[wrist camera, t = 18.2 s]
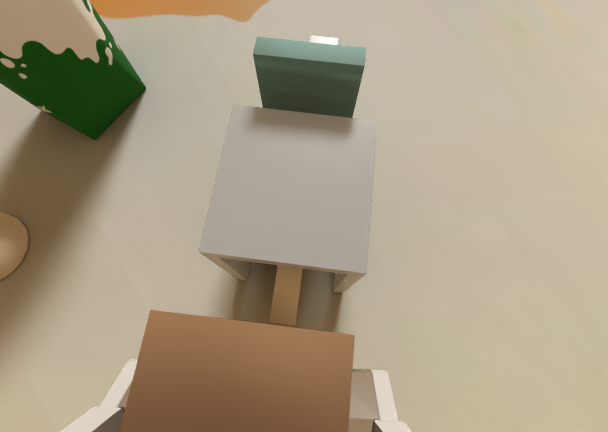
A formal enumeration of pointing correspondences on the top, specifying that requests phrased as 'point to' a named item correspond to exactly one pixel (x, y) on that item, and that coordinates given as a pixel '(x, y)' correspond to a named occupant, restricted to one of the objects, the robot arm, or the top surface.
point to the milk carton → (65, 62)
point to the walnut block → (238, 377)
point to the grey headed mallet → (293, 193)
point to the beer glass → (11, 243)
